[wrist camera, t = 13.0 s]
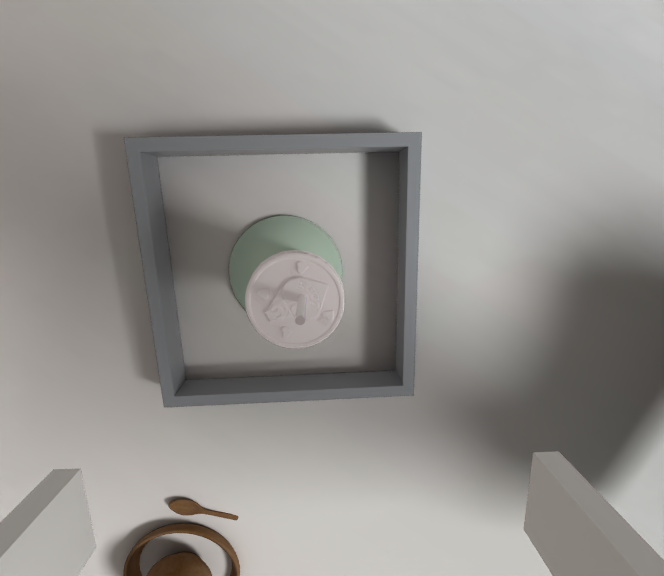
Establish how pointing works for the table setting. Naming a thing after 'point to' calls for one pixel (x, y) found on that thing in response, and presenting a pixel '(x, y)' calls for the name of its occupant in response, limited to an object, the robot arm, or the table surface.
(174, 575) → the place setting
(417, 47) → the table surface
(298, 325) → the smoothie
